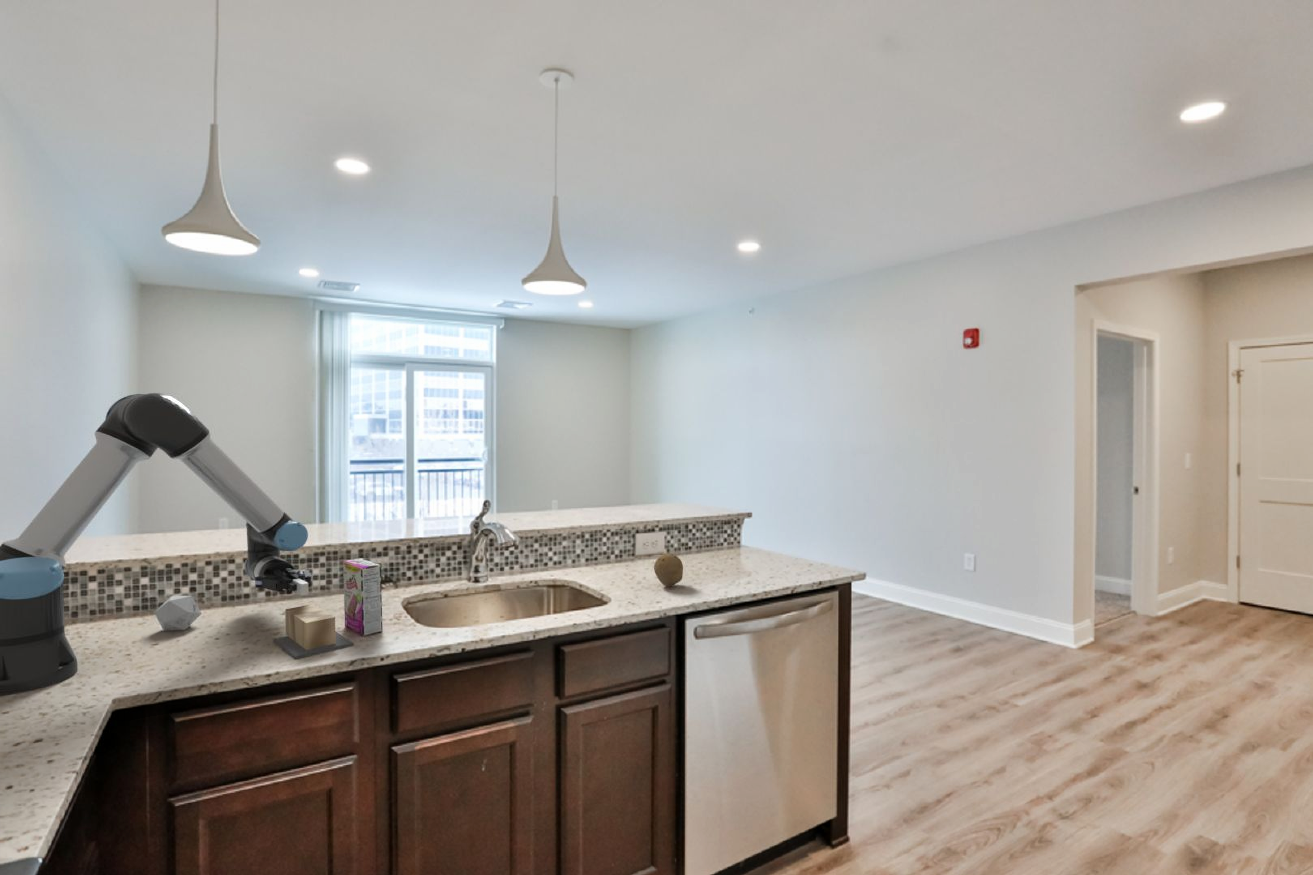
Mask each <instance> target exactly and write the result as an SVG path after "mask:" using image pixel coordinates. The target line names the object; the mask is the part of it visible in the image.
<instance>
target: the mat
mask: <svg viewBox="0 0 1313 875" xmlns="http://www.w3.org/2000/svg"><path fill="white" fill-rule="evenodd" d="M335 637H336V644H331V645H327V646H323V647H318V648H314V649H310V650H306V649H304V648H303V647H302V646H300V645H299V644H298V643H296V642H295V641H294V640H292V639H291V638H290V637H288V636H287V635H285V636H280V637H276V638H273V639H272V640H273V642H274V643H275V645H277V646H278V647H280V648H281V649H282V650H283V651H284V652H286V653H287V654H288V655H290V656H291V657H292V658H293V659H294V660H298V659H301V658H305V657H309V655H311V656H313V655H318V654H322V653H326V652H331V651H335V650H339V649H343V648H348V647H352V646H354V645H355V643H354V641H352V640H350V639H349V638H347V637H346V636H344V635H342V634H341V633H339V632H338V631H336V630H335Z"/></svg>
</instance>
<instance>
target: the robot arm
mask: <svg viewBox="0 0 1313 875" xmlns="http://www.w3.org/2000/svg"><path fill="white" fill-rule="evenodd" d="M94 436H95V440H96V443H95V444H94V445H93V446H92V448H91V449H90V450H89V452H87V454H86V455H85V456H84V458H82V460H81V461H80V462H79V463H78V465H77V466H76V467H75V468H74V469H73V471H72V472H71V473H70V475H69V476H68V477H67V478H66V479H65V480H64V481H63V483H62V484H61V485H60V487H58V489H57V490H56V492H55V493H54V494H53V495H52V497H51V498H50V499H49V500H48V501H47V502H46V503H45V505H44V506H43V507H42V508H41V510H39V512H38V513H37V514H36V516H35V517H34V518H33V520H31V522H30V523H28V525H27V527H26V528H25V529H24V530H23V531H22V533H21V534H20V535H19V536H18V537H16V538H14V539H11V540H7V541H3V542H2V543H1V544H0V696H1V695H10V694H17V693H22V692H27V691H32V690H36V689H41V688H43V687H46V686H50V685H53V684H56V683H59V682H61V681H63V680H66V679H68V678H70V677H72V676H74V675H75V674H77V672H78V669H79V668H78V658H77V656H76V655H75V652H74V650H73V648H72V646H71V644H70V643H69V640H68V638H67V637H66V634H65V633H66V632H65V630H66V629H65V603H64V602H65V601H64V600H65V598H64V580H65V573H64V570H65V568H67V562H66V559H65V555H66V554H67V553H68V552H69V550H70V548H71V547H72V546H73V545H74V543H75V542H76V541H77V540H78V539H79V537H80V536H81V535H82V534H83V532H84V531H85V530H86V528H87V527H88V526H89V524H90V523H91V522H92V521H93V519H94V518H95V517H96V516H97V514H98V513H99V511H101V509H103V506H104V505H105V504H106V503H107V501H108V500H109V499H110V498H111V496H112V495H113V494H114V493H115V491H116V490H118V489H117V488H119V486H120V485H121V484H122V482H123V481H124V480H125V478H126V477H127V476H128V475H129V473H131V471H132V469H133V468H134V467H135V466H136V464H137V463H138V462H141V461H147V460H150V459H151V457H152V456H153V455H154V454H155V452H156V451H157V450H158V449H160V450H161V451H162V452H164V454H166V455H167V456H168V457H169V458H170V459H172V460H180V461H181V462H182V463H183V464H184V465H185V466H186V467H187V468H189V469H190V470H191V471H192V472H193V473H194V474H195V475H196V476H197V477H198V478H199V479H200V480H202V481H203V483H205V484H206V485H207V487H209V488H210V489H211V490H212V491H213V492H214V493H215V494H217V495H218V496H219V497H220V498H221V499H222V500H223V501H224V502H225V503H226V504H227V505H228V506H229V507H230V508H232V510H234V512H236V513H237V514H238V516H240V517H241V518H242V519H243V520H245V522H246V523H245V526H246V540H247V542H246V543H247V557H246V559H245V561H244V564H243V567H244V568H243V569H244V571H245V573H246V574H247V576H248V577H249V578H250V579H251V580H254V586H255V589H256V588H257V589H265V590H270V591H274V592H279V593H281V592H284V590H285V591H286V594H287V595H290V594H293V592H294V593H295V594H297V595H299V596H301V597H303V596H309V595H310V594H309V588H310V587H312V568H306V569H305V570H302V571H300V570H299V569H296V568H295V567H294V565H293V564H291V563H290V562H289V561H287V560H285V559H283V558H281V551H282V552H295V551H299V550H300V549H301V548H303V547H304V546H305V544H306V543H307V541H308V538H309V532H308V529H307V527H306V526H305V525H304V524H303V523H301V522H299V521H298V520H297V521H296V520H293V519H292V518H291V517H290V516H289V515H288V514H287V513H286V512H285V511H284V510H283V509H282V508H281V507H280V506H279V505H278V504H277V503H276V502H275V501H274V500H273V499H272V498H271V497H270V495H268V494H267V493H266V492H265V491H264V490H263V489H262V487H260V486H259V485H258V484H257V483H256V482H255V481H254V480H253V479H252V478H251V477H250V476H249V475H248V474H247V473H246V472H245V471H244V470H243V469H242V468H241V467H240V466H239V465H238V464H237V463H236V462H235V461H234V460H233V459H232V458H231V457H230V456H229V455H228V454H227V453H226V452H224V450H223V449H222V448H221V447H220V446H218V445H217V443H216V442H215V441H213V439H211V431H210V429H209V428H207V427H206V425H204V423H202V421H201V420H199V418H198V417H196V414H194V413H193V412H192V411H191V410H190V409H189V407H187V406H186V405H185V404H183V403H182V402H181V401H180V400H178V399H177V398H175V397H173V396H172V395H168V394H165V393H160V392H151V393H134V394H129V395H126V396H124V397H121V398H119V399H118V400H116V401H115V402H114V403H113V404H111V406H110V407H109V408H108V410H107V412H106V415H105V419H104V420H103V422H102V423H101V424H100V426H99V427H98V428H97V430H95V432H94Z"/></svg>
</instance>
